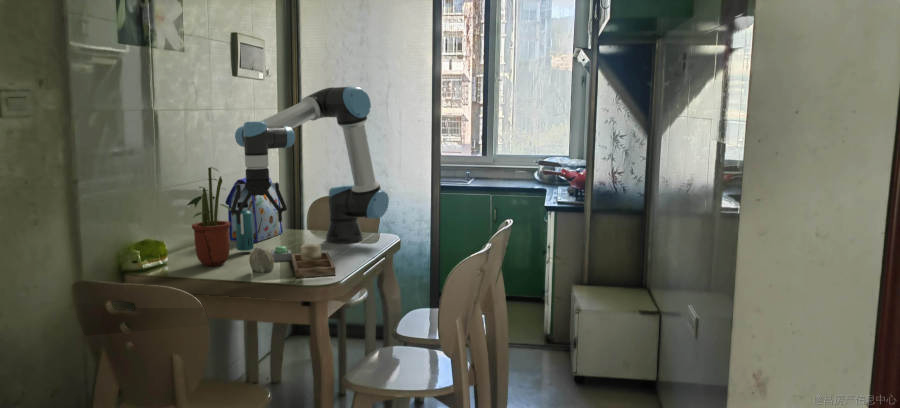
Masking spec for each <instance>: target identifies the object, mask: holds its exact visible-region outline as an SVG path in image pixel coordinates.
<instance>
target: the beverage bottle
mask: <svg viewBox="0 0 900 408" xmlns="http://www.w3.org/2000/svg"><path fill="white" fill-rule="evenodd" d="M241 204H242V202H238V203H237V208H239V207H240V205H241ZM247 207H248V202H247V203H246V205H245V207H244V208H247ZM240 214H243V228H244V234H241V224H237V215H236V214H235V222H236V240H237V241H236V242H235V243H236V244H235V245H236V249H237V251H244V252H245V251H251V250H254V246H255V245H254V243H255V242H253V241H254V240H253V230H252V224H253V223H252V215H251V214H252V213H251V212H250V211H249V210H242V212H241V213H240Z"/></svg>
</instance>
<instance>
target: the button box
mask: <svg viewBox="0 0 900 408" xmlns="http://www.w3.org/2000/svg"><path fill="white" fill-rule="evenodd" d="M270 253H271V254H272V256H273V258H274V262H284V261H285V262H286V261H292V255H293V254H292V250H291V249H287V253H278V254H276V251H275V250H270Z"/></svg>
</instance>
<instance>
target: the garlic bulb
mask: <svg viewBox="0 0 900 408" xmlns="http://www.w3.org/2000/svg"><path fill="white" fill-rule="evenodd" d="M248 259H249V265H250V267H251V269H252V270H253V271H255V272H257V273H268V272H269V273H271V272H273V269H274V267H275V266H274V265H275V264H274V263H275V261H274V258H273V256H272V254H271V251H269V250H268V249H266V248H265V247H262V248H261V247H253V251H251V252H250V255H249V258H248Z"/></svg>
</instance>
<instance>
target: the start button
mask: <svg viewBox="0 0 900 408" xmlns="http://www.w3.org/2000/svg"><path fill="white" fill-rule="evenodd" d="M274 249H275V251H276V254H278V253H287V250H288V249H287V246H285V245H280V246H275V248H274Z"/></svg>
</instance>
